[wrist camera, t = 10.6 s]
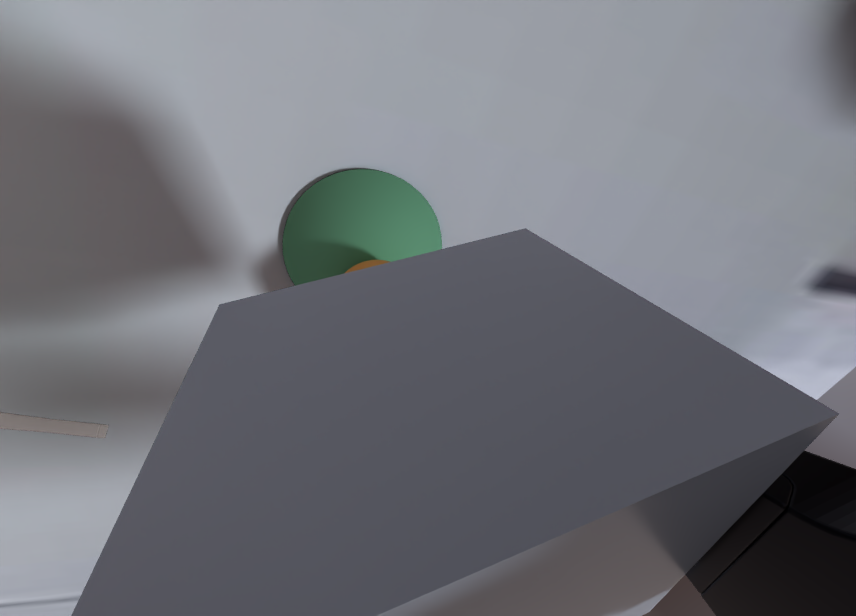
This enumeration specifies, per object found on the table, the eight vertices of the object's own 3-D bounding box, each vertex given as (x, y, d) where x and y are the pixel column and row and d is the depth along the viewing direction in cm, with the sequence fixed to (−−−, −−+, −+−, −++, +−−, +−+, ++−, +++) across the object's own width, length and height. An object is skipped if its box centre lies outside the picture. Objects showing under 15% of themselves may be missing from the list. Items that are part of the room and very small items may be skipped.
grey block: (516, 410, 13) (648, 611, 8) (325, 478, 12) (332, 772, 6) (525, 228, 8) (838, 413, 3) (219, 304, 7) (-8, 782, 2)
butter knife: (-226, 371, 14) (-217, 418, 15) (320, 440, 25) (305, 464, 26) (-213, 365, 14) (-205, 411, 15) (319, 436, 26) (306, 459, 26)
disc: (447, 297, 22) (448, 299, 22) (314, 334, 20) (314, 336, 20) (430, 154, 17) (431, 154, 17) (253, 188, 15) (252, 189, 15)
